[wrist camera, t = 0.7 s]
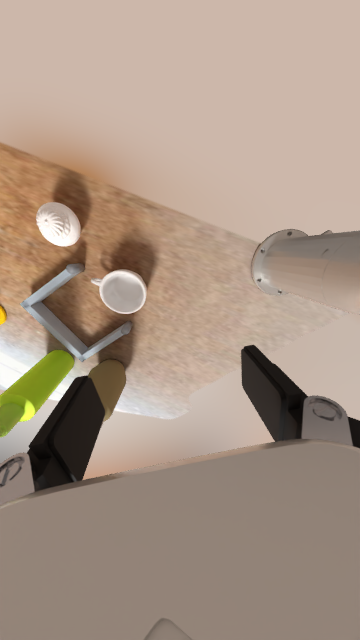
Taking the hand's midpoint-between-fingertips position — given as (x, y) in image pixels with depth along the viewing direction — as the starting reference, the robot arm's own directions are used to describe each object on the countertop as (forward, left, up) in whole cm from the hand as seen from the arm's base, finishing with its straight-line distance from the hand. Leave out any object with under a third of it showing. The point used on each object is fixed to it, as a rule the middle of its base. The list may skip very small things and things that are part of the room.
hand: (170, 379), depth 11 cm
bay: (+17, -6, -27) cm, 32 cm away
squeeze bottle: (+22, +8, -27) cm, 36 cm away
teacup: (+7, -6, -27) cm, 29 cm away
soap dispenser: (+30, 0, -27) cm, 40 cm away
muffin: (+8, -18, -27) cm, 34 cm away
